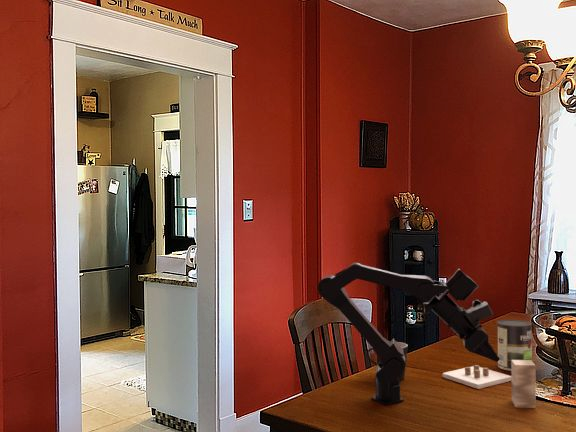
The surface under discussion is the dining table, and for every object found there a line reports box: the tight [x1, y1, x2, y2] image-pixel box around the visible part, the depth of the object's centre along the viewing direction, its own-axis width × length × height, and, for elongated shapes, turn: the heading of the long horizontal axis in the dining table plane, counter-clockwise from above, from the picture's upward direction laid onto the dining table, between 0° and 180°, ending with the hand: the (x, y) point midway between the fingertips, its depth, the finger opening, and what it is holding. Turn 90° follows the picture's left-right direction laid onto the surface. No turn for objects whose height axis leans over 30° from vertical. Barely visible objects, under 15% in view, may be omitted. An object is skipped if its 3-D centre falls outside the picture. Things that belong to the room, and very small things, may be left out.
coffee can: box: [496, 319, 533, 372], centre depth 199 cm, size 10×10×14 cm
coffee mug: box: [366, 341, 409, 382], centre depth 192 cm, size 12×9×10 cm
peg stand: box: [442, 364, 512, 390], centre depth 188 cm, size 14×14×3 cm
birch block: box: [510, 360, 537, 409], centre depth 165 cm, size 5×5×11 cm
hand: (495, 355), depth 166 cm, fingers open, 9 cm apart
